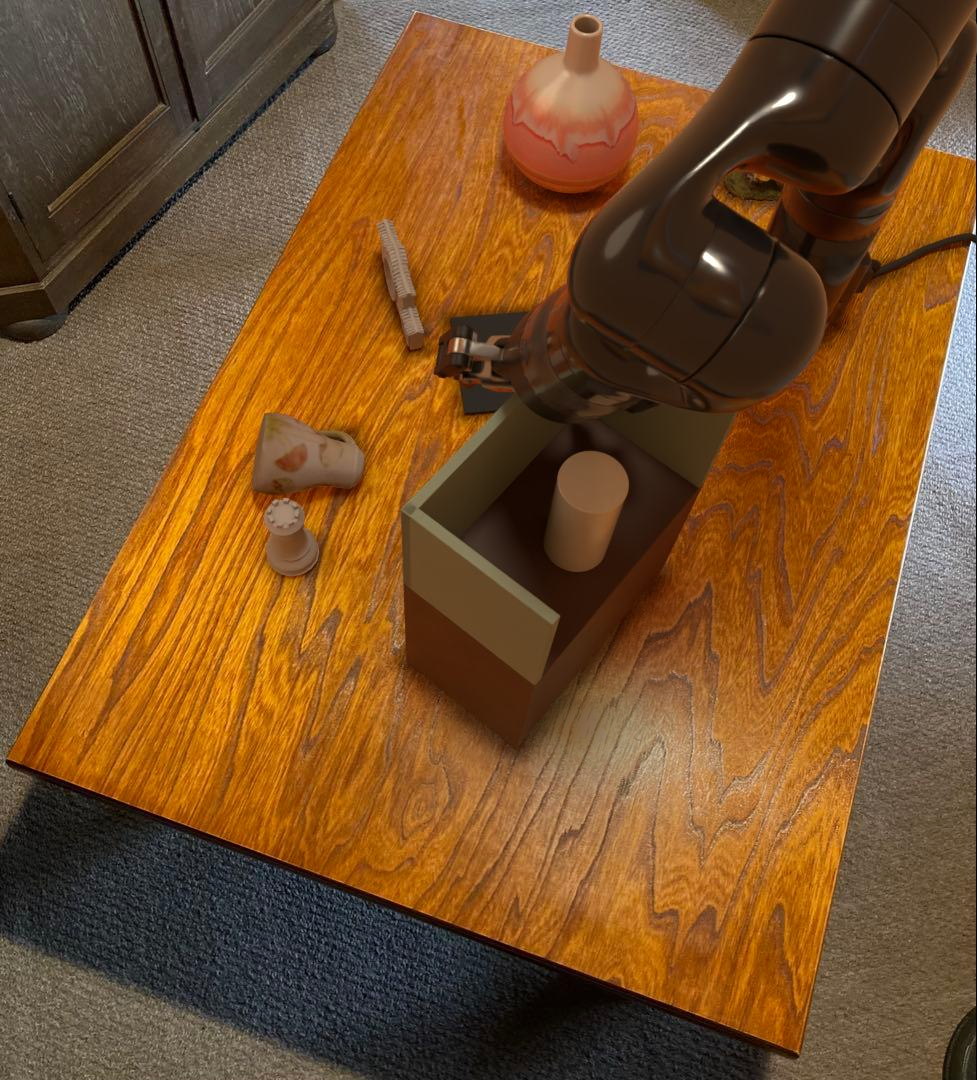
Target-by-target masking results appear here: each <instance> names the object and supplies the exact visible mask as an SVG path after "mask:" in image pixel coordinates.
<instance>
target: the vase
mask: <svg viewBox="0 0 977 1080" xmlns="http://www.w3.org/2000/svg"><path fill="white" fill-rule="evenodd" d="M603 34H604V23H603V22H602V20H601V19H600V18H599V17H598V16H596V15H593V14H590V13H581V14H578V15H576V16H574V17H573V18H571V20H570V23H569V28H568V34H567V40H566V46H565V50H563V51H562V50H561V51H558V52H554V53H551V54H549V55H547V56H545V57H543V58H541V59H539V60H537V61H536V62H534V63H533V64H532V65H531V66H529V67H528V68H527V69H526V70H525V71H524V72H523V73H522V74H521V75H520V77H519V78H518V80H517V81H516V83H515V84H514V86H513V88H512V90H511V92H510V94H509V96H508V99H507V101H506V104H505V107H504V114H503V121H502V125H503V126H502V129H503V139H504V144H505V147H506V150H507V152H508V155H509V157H510V160H512V163H514V165H515V166H516V168H517V169H518V170H519V171H520V173H521V174H522V175H524V177H525V178H527V179H528V180H530V181H531V182H533V184H535V185H537V186H538V187H540V188H544V189H546V190H549V191H552V192H556V193H562V194H579V193H580V194H581V193H586V192H589V191H592V190H595V189H597V188H601V187H602V186H604V185H606V184H608V183H609V182H610V181H611V180H614V178H615V177H617V176H618V175H620V173H621V172H622V170H623V169H624V168H625V167H626V165H627V164H628V162H629V161H630V159H631V157H632V156H633V153H634V150H635V148H636V144H637V142H638V137H639V127H640V116H639V108H638V104H637V103H638V102H637V99H636V96H635V93H634V91H633V89H632V86H631V85H630V82H628V80H627V79H626V77H625V75H623V73H622V72H621V71H620V70H619V68H617V66H615V65H614V64H613V63H612V62H610V61H609V60H607V59H606V58H604V57H603V56H600V53H601V46H602V42H603V41H602V39H603Z"/></svg>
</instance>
